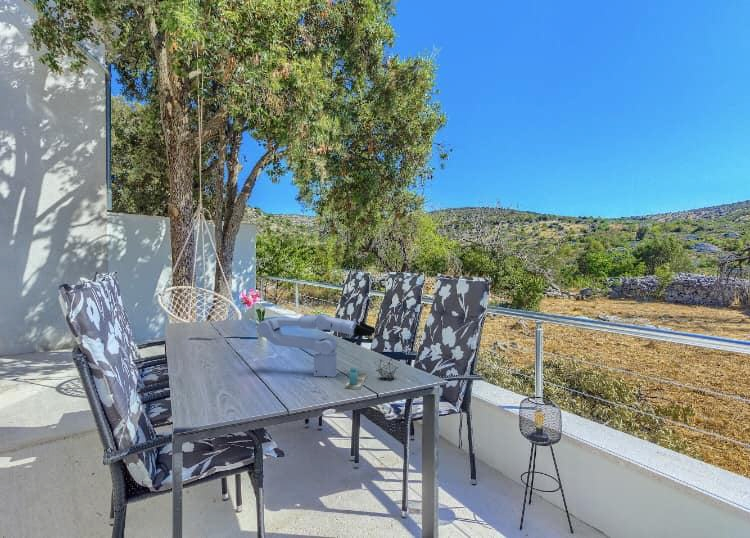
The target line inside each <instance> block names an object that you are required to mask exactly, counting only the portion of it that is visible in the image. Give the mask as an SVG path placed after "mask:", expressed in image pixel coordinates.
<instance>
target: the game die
mask: <svg viewBox="0 0 750 538" xmlns="http://www.w3.org/2000/svg"><path fill="white" fill-rule="evenodd" d="M392 360H393V359H392V358H390V360H389V359H388V360H382V359H379V361H380V363H379V365H378V368H377V369H376V370H375V372H378V373H379V375H380V376H381V380H382V379H383V380H384V379H389V378H392V379H393V380H395V377H394V375H395V373H396V371H397V369H399V367H398V366H396V365H395V364H394V362H392Z"/></svg>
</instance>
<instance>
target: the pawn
mask: <svg viewBox="0 0 750 538" xmlns="http://www.w3.org/2000/svg"><path fill="white" fill-rule="evenodd" d="M357 373H358V370H357V367H355V366H352V367H351V368H350V371H349V380H350V385H357Z"/></svg>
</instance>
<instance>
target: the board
mask: <svg viewBox="0 0 750 538" xmlns="http://www.w3.org/2000/svg"><path fill="white" fill-rule="evenodd" d="M367 376H369V375H368V373H360V372H359V373H358V372H357V385H350V379H348V380H347V382H346V384H345V385H344V389H346V390H361V389H362V387H363V385H364V384H365V382H366V380H367V378H368V377H367ZM365 379H366V380H365ZM364 381H365V382H364ZM363 383H364V384H363Z"/></svg>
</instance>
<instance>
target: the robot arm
mask: <svg viewBox="0 0 750 538" xmlns="http://www.w3.org/2000/svg"><path fill="white" fill-rule="evenodd" d="M291 326H292V327H296V326H297V327H298V326H299V328H300V329H311V330H312V329H313V330H314V329H319V331H323V330H328V331H332V332H337V333H343V334H347V335H351V336H353V338H358V337H372V336H373V334H375V332H376V328H375V327H374V326H371V325H368V324H367V323H365V322H364V321H362V320H360V321H359V323H358V322H357V319H356V318H353V320H349V319H344V318H343V319H342V318H338V317H332V316H329V315H327V314H320V315H319V314H318V313H317V314H315V315H313V314H312V315H310V314H308V313H304V314H303V315H300V317H282V316H281V317H271V318H269V319H265V320H261V321H260V322H259V323H258V324H257V332H258V333H259V335H260V337H261V338H265V339H266V340H267V341H269V342H270V343H271V344H273V345H274V346H278V347H279V346H280V347H286V348H287V347H289V348H298V349H305V350H313V351H314V352H316V353H315V355H314V356H313V357H314V358H313V377H325V376H327V377H329V378H335V377H337V375H338V374H339V373H340V371H339V370H337V351H336V350H337V348H338V346H339V345H338V340H337V339H336V338H335V337H334V336H329V337H319V338H318V337H317V338H315V337H306V336H299V335H292V334H291V335H290V334H284V333H283V332H282V330H281V328H282V327H291Z"/></svg>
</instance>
